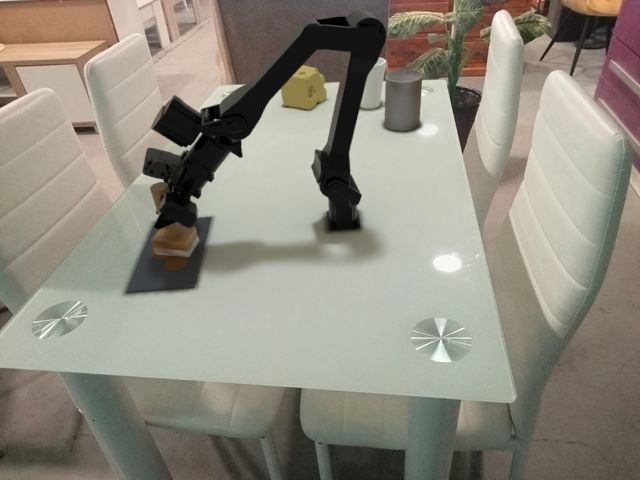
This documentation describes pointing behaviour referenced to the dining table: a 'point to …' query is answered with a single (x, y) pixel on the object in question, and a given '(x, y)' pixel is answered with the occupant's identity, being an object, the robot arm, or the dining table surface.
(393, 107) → the pillar candle
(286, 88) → the cheese
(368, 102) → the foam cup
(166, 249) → the scrub brush
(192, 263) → the stain mat
